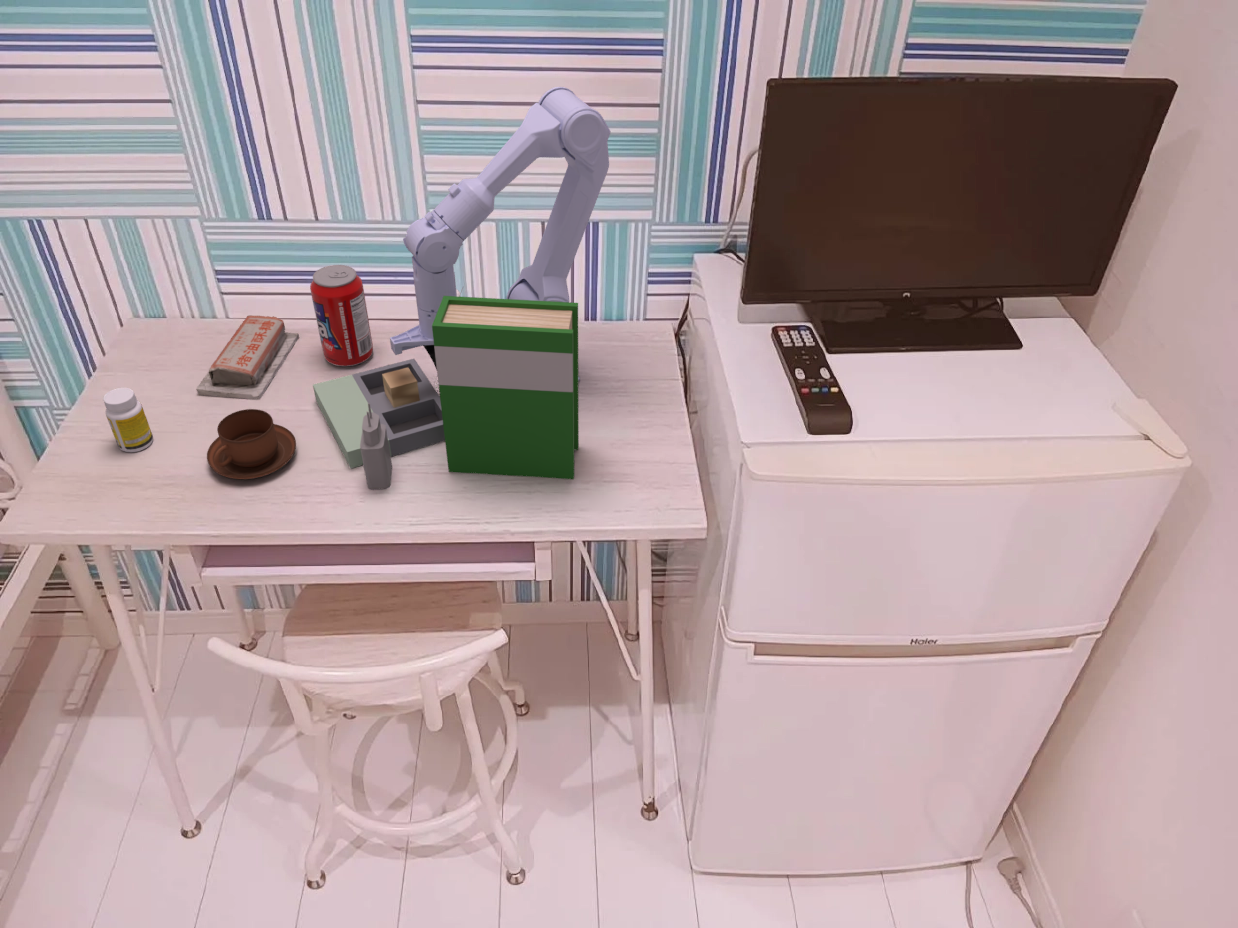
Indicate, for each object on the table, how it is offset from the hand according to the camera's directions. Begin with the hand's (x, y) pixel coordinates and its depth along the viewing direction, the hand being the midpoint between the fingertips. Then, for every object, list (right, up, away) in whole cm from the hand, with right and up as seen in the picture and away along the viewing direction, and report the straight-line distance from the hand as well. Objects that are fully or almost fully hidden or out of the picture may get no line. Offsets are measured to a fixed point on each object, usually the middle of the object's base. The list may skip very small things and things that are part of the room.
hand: (445, 380), depth 149 cm
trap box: (-9, -6, -1) cm, 11 cm away
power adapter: (-7, -14, -11) cm, 20 cm away
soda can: (-18, +5, +11) cm, 21 cm away
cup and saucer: (-26, -12, -9) cm, 30 cm away
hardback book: (+11, -12, -8) cm, 18 cm away
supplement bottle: (-43, -10, -7) cm, 45 cm away
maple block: (-6, -3, -2) cm, 7 cm away
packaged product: (-33, +3, +9) cm, 34 cm away
